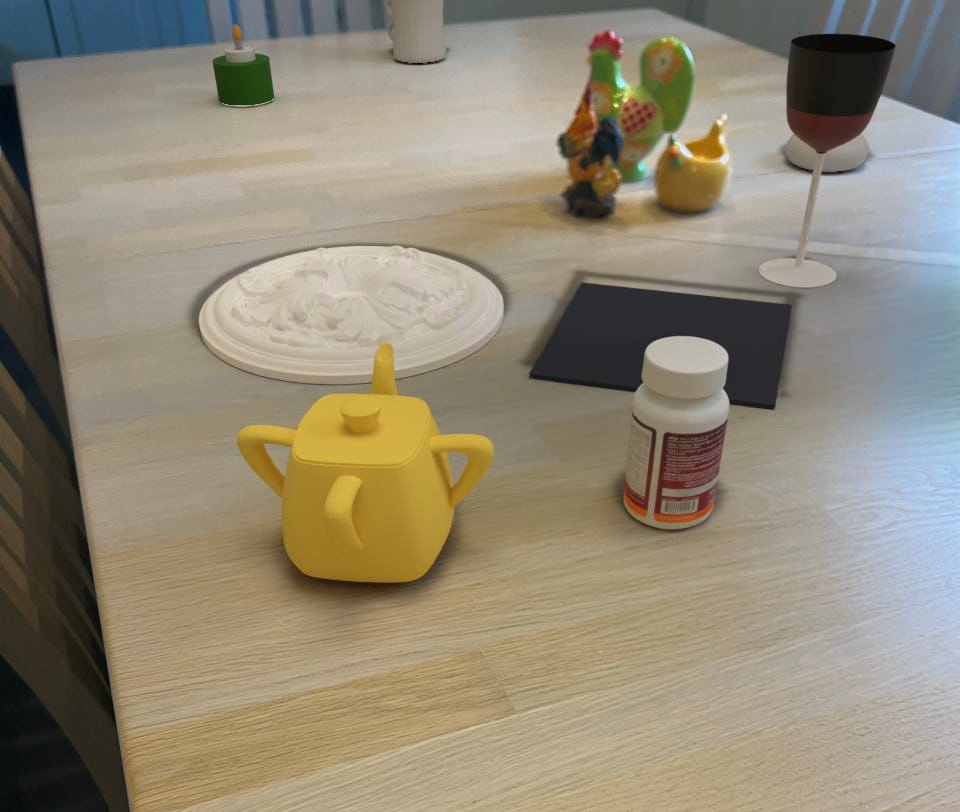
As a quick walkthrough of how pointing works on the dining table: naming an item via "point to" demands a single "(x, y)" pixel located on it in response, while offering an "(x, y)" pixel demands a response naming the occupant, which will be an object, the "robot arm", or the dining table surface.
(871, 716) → the dining table surface
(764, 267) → the wineglass
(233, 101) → the candle
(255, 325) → the ceiling medallion
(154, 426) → the dining table surface
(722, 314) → the mat
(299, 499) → the teapot
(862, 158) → the donut
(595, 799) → the dining table surface
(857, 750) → the dining table surface
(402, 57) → the mug
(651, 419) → the pill bottle
